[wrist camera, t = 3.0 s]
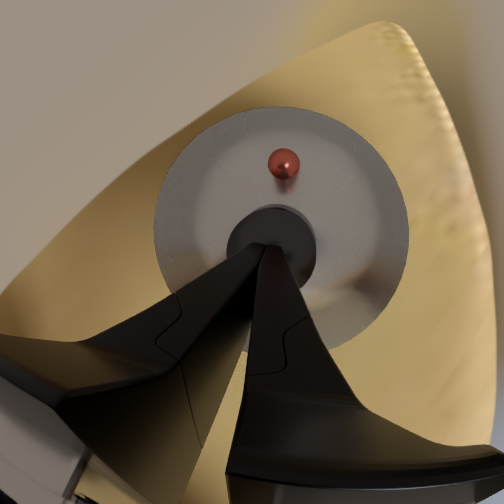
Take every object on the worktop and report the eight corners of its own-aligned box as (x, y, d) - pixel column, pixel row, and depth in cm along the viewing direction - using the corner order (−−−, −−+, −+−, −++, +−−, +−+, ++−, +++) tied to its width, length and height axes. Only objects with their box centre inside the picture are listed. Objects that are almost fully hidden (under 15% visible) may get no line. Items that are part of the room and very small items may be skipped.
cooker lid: (371, 357, 13) (379, 394, 10) (164, 322, 14) (138, 351, 12) (417, 133, 10) (442, 126, 8) (173, 106, 12) (141, 95, 9)
